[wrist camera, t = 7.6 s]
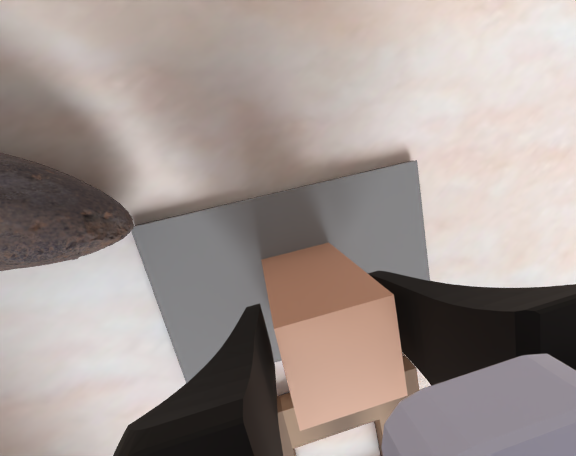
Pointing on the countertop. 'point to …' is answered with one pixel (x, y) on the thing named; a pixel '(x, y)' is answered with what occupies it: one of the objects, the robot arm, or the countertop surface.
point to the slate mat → (274, 250)
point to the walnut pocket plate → (379, 414)
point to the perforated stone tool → (53, 216)
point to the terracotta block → (333, 334)
